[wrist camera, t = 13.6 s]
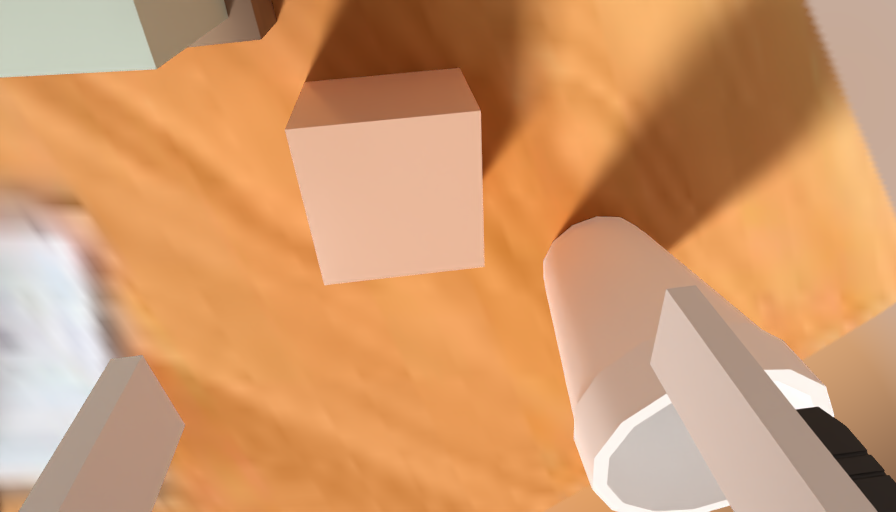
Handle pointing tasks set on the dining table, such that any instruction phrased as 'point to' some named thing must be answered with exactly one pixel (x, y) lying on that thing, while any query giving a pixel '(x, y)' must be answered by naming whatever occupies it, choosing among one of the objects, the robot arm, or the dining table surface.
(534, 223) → the dining table surface
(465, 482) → the dining table surface
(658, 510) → the foam cup
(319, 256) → the beige cube
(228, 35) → the walnut base
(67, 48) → the sage brick
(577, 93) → the dining table surface
